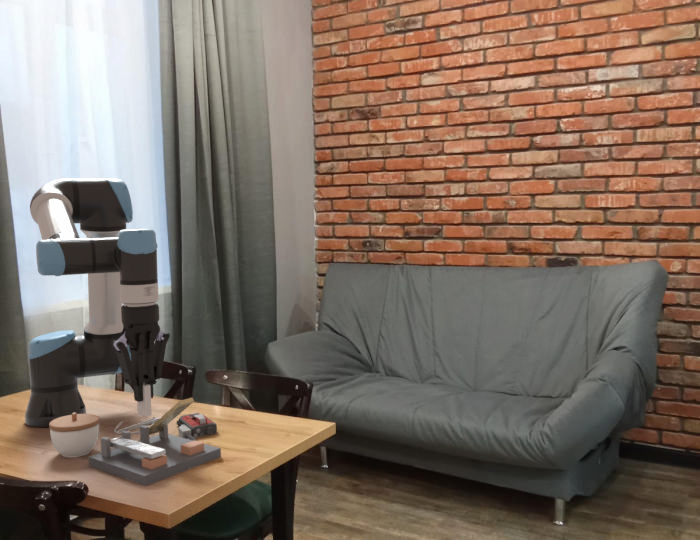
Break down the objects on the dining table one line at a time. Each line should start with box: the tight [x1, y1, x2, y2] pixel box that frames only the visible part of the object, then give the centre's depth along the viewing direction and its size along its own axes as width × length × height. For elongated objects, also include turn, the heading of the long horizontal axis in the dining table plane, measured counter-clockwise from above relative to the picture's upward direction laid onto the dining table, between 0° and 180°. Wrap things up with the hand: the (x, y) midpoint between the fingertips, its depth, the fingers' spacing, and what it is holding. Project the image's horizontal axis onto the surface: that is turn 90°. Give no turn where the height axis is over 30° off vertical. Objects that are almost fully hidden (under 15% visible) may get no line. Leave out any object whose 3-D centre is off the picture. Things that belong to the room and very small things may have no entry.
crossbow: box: [113, 416, 161, 435], centre depth 178 cm, size 16×13×2 cm
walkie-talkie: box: [176, 412, 218, 441], centre depth 170 cm, size 9×4×20 cm
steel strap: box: [110, 435, 166, 459], centre depth 147 cm, size 16×4×2 cm, turn 53°
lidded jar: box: [48, 413, 100, 459], centre depth 158 cm, size 11×11×9 cm
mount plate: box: [88, 424, 222, 487], centre depth 151 cm, size 20×20×6 cm
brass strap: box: [149, 397, 195, 436], centre depth 155 cm, size 16×4×2 cm
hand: (144, 414), depth 144 cm, fingers closed
